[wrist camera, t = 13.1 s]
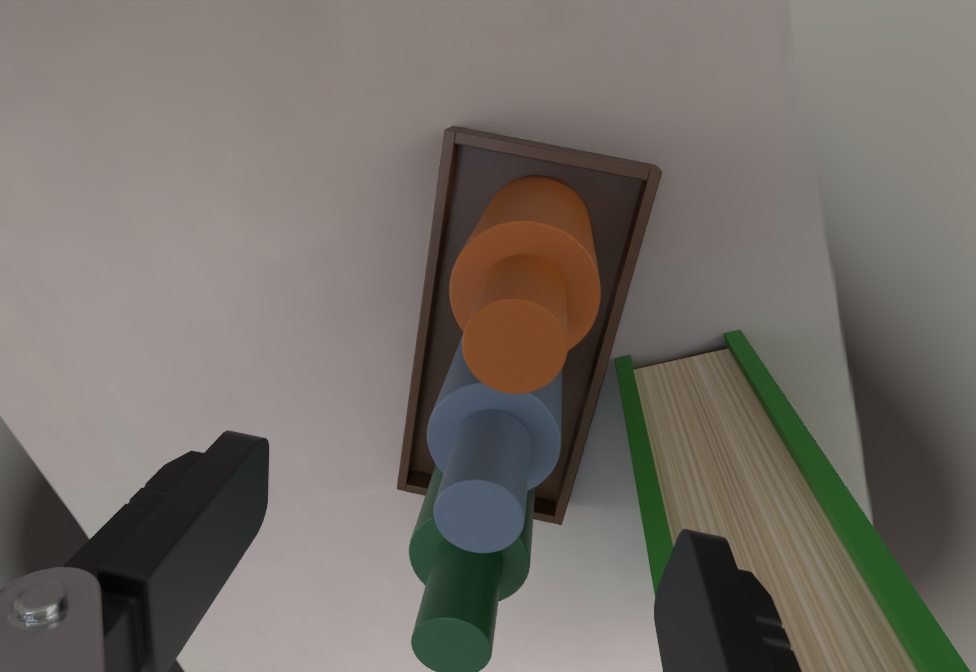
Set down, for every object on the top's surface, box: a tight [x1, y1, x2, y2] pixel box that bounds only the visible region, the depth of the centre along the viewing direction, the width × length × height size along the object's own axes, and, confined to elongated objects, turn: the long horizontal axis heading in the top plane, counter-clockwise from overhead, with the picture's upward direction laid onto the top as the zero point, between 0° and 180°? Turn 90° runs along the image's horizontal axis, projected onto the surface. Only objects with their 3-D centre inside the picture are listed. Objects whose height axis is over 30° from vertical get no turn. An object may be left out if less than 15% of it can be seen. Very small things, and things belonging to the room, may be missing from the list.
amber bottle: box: [449, 175, 601, 394], centre depth 27 cm, size 6×6×16 cm
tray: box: [397, 126, 662, 525], centre depth 36 cm, size 11×23×2 cm, turn 171°
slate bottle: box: [427, 335, 562, 553], centre depth 30 cm, size 6×6×16 cm
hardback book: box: [615, 330, 970, 672], centre depth 29 cm, size 18×7×24 cm, turn 18°
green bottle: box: [409, 465, 536, 672], centre depth 33 cm, size 6×6×16 cm
